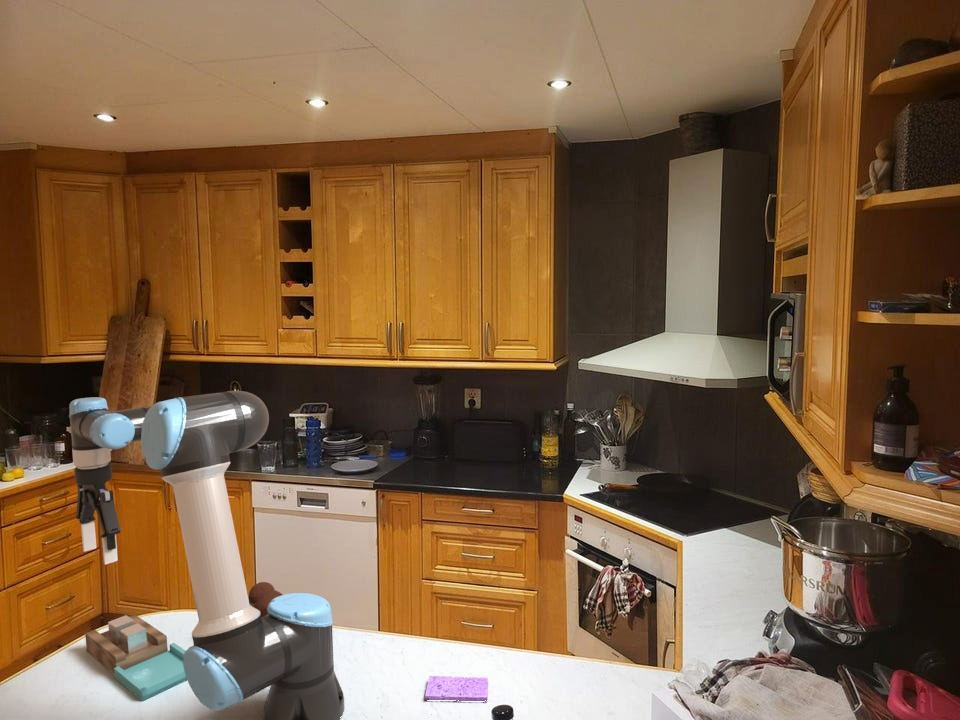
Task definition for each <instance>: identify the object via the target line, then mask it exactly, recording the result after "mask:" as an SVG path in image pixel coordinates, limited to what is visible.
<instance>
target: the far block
mask: <svg viewBox="0 0 960 720" xmlns="http://www.w3.org/2000/svg"><path fill="white" fill-rule="evenodd" d="M107 623H108V625H107V626H108V627H107V628H108V631H109V639H111V640H112V641H113V642H115V643H116V644H119V643H120V630H122V629H124V628H127V627H130V626H132V625H134V620H133V619H131V618H130V617H129V615H127V614H125V615H123V616H120V617H118V618H115V619H112V620H110V621H107Z"/></svg>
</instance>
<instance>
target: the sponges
mask: <svg viewBox="0 0 960 720" xmlns="http://www.w3.org/2000/svg"><path fill="white" fill-rule="evenodd" d="M488 687H489V678H488V677H482V676H481V677H475V676H474V677H473V676H471V677H467V676H466V677H464V676H451V675H450V676H446V675H445V676H444V675H428V679H427V685H426V691H425V696H424V698H425V701H426V700H456V701H458V700H459V701H485V700H486V701H487V700H488V701H489V698H488V697H489V688H488ZM488 701H487V702H488Z"/></svg>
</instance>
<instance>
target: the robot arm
mask: <svg viewBox="0 0 960 720" xmlns="http://www.w3.org/2000/svg"><path fill="white" fill-rule="evenodd" d="M269 416H270V415H269V411H268V408H267V406H266V404H265V403H264V401H263V400H262V399H261V398H260V397H258V396H257V395H256V394H254V393H251V392H249V391H242V390H228V391H222V392H215V393H214V392H213V393H206V394H198V395H190V396H189V395H188V396H181V397H175V398H172V399H170V398H169V399H167V400H163V401H158V402H156V403H154V404H153V405H150V406H148V405H147V406H142V407H134V408H127V409H126V408H125V409H121V410H114V411H109V406H108V401H107V400H106V399H105V398H104V397H97V396H96V397H95V396H94V397H91V396H90V397H84V398H83V397H81V398H76V399H74V400H72V401H71V402H70V403H69V415H68V419H69V422H70V434H71V435H70V436H71V446H72V448H71V449H72V452H71V453H72V462H73V466H75V468H74V470H73V472H74V481H75V484H76V486H77V499H76V500H77V501H76V515H75V517H76V518H75V519H77V520H79V524H80V530H81V531H80V532H81V542H82V551H83V552H84V553H85V552H88V551H92V550H95V549H97V538H96V537H97V536H96V525H95V521H96V517H95V515H94V514H95V512H96V515H97V518H98V521H99V524H100V527H101V530H102V534H101V535H100V538H101V543H102V557H103V564H104V565H105V566H106V565H108V564H112V563H115V562H118V560H119V559H118V544H117V535H118V534H120V533H121V527H120V523H119V518H118V515H117V509H116V505H115V500H114V499H115V498H114V492H113V490H108V489H107V487H106V483H107V482H110V481H111V480H112V479H113V466H112V463H110V462H111V460H112V457H111V456H112V455H111V452H112V451H113V450H119V449H123V448H125V447H126V446H128V445H129V444H131V443H135V442H141V443H140V444H141V451H142V455H143V458H144V460H145V462H146V463H145V464H146V465H147V466H148V467H149V468H150V469H152V470H156V471H160V476H161V480H163V481H164V482H166V483H167V484H170V485H171V486H172V488H173V489H172V490H173V494H174V499H175V503H176V509H177V514H178V520H179V526H180V530H181V535H182V540H183V545H184V550H185V555H186V561H187V566H188V571H189V576H190V581H191V587H192V592H193V598H194V602H195V608H196V612H197V618H198V622H197V624H196V625H195V627H194V628H193V630H192V631H191V638H192V644H193V645H192V646H190V647H188V648H187V649H185V653H184V656H183V658H184V660H183V667H184V671H185V675H186V678H187V680H186V681H187V682H188V683H187V684H188V685H189V687H190V688H191V691H192V692H193V694H194V695H195V697H196V698H197V700H198V701H199V702H200V703H201V704H202V705H203V706H205V707H206V708H207V709H209V710H210V711H211V710H212V711H222V710H224V709H227V708H229V707H231V706H233V705H236V704H237V705H238V704H240V703H242V702H243V701H244V700H246V699H248V698H249V697H251V696H253V695H255V694H257V693H259V692H261V691H263V690H264V689H266V688H269V691H268V693H267V699H266V701H265V704H264V707H263V720H339V719H340V720H341V718H342V717H341V716H343V715H344V713H345V695H344V692H343V690H342V686H341V685H340V682H339V680H338V679H339V678H338V677H337V674H336V671H335V669H334V668H335V666H334V641H333V637H334V636H333V624H334V619H333V613H332V608H331V604H330V603H329V601H328V600H327V599H325V598H324V597H322V596H321V595H317V594H313V593H305V592H294V593H293V592H292V593H285V594H282V595H281V596H278V597H276V598H274V599H273V600H271V602H270V603H269V605H268V608H267V611H268V614H267V615H266V616H264V617H261V613H260V611H259V610H257V609H256V608H254V607H252V606H251V605H250V604H249V593H248V591H247V585H246V581H245V580H246V579H245V575H244V570H243V566H242V560H241V555H240V550H239V544H238V540H237V535H236V531H235V530H236V529H235V525H234V519H233V515H232V510H231V504H230V500H229V495H228V490H227V484H226V479H225V473H226V472H227V469H228V468H229V466H230V464H231V459H230V458H231V457H230V454H232V453H236V452H240V451H244V450H247V449H249V448H250V447H252V446H254V445H255V444H256V443H258V442H259V441H260V440H261V439H262V438H263V436H265V434H266V432H267V430H268V427H269V422H270V421H269V420H270V417H269ZM343 712H344V713H343ZM340 717H341V718H340Z"/></svg>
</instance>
